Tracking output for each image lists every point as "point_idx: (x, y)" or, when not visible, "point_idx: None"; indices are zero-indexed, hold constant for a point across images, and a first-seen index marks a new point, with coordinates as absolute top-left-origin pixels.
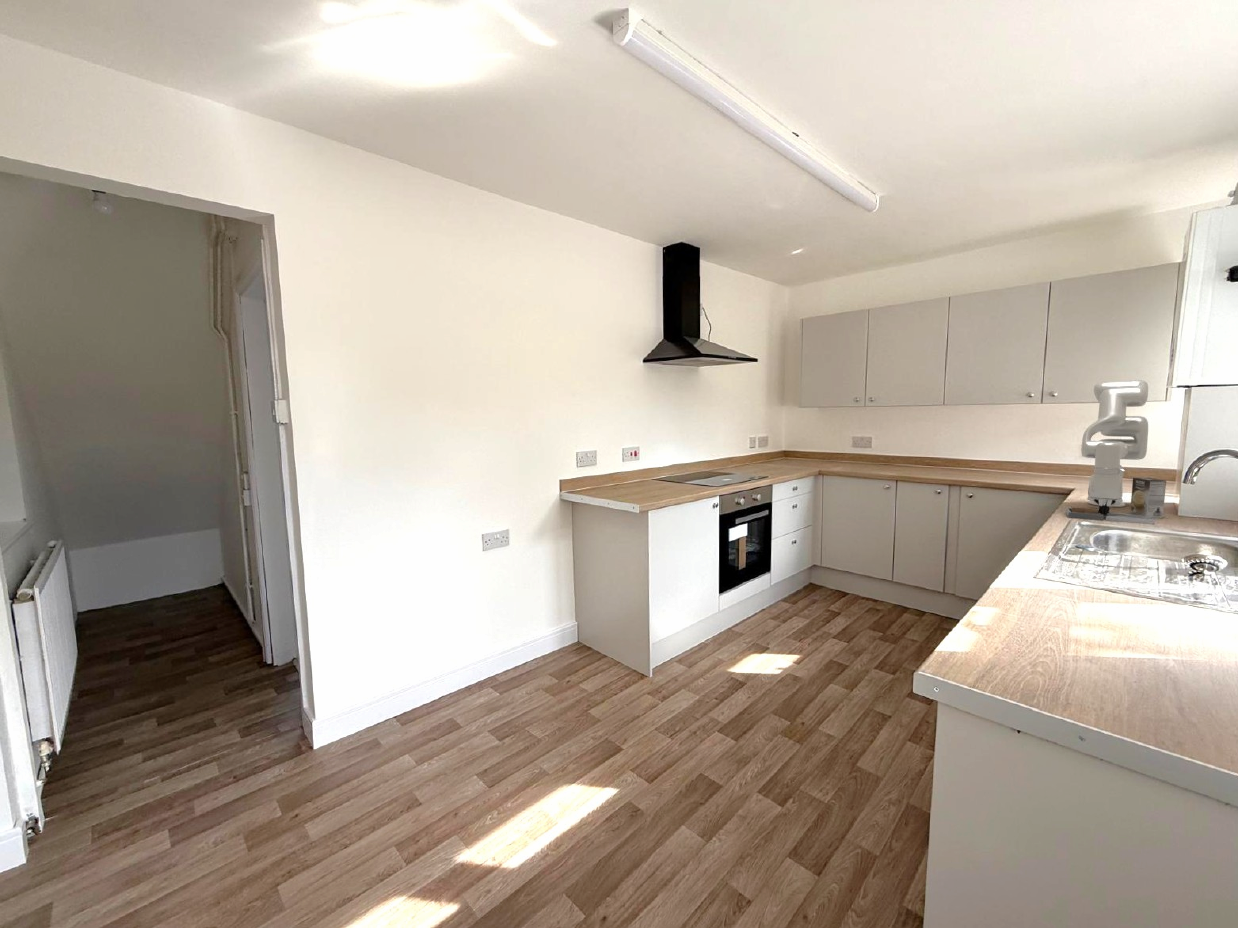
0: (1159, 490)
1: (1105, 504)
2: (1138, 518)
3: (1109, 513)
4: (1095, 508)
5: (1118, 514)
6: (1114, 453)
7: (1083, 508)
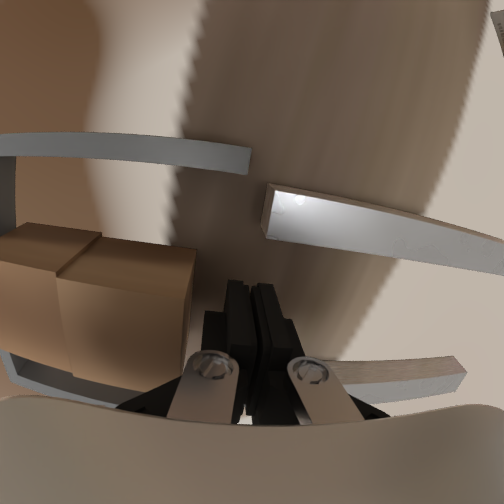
0: None
1: (264, 413)
2: (402, 399)
3: (322, 246)
4: (162, 362)
5: (386, 253)
6: None
7: (63, 368)
